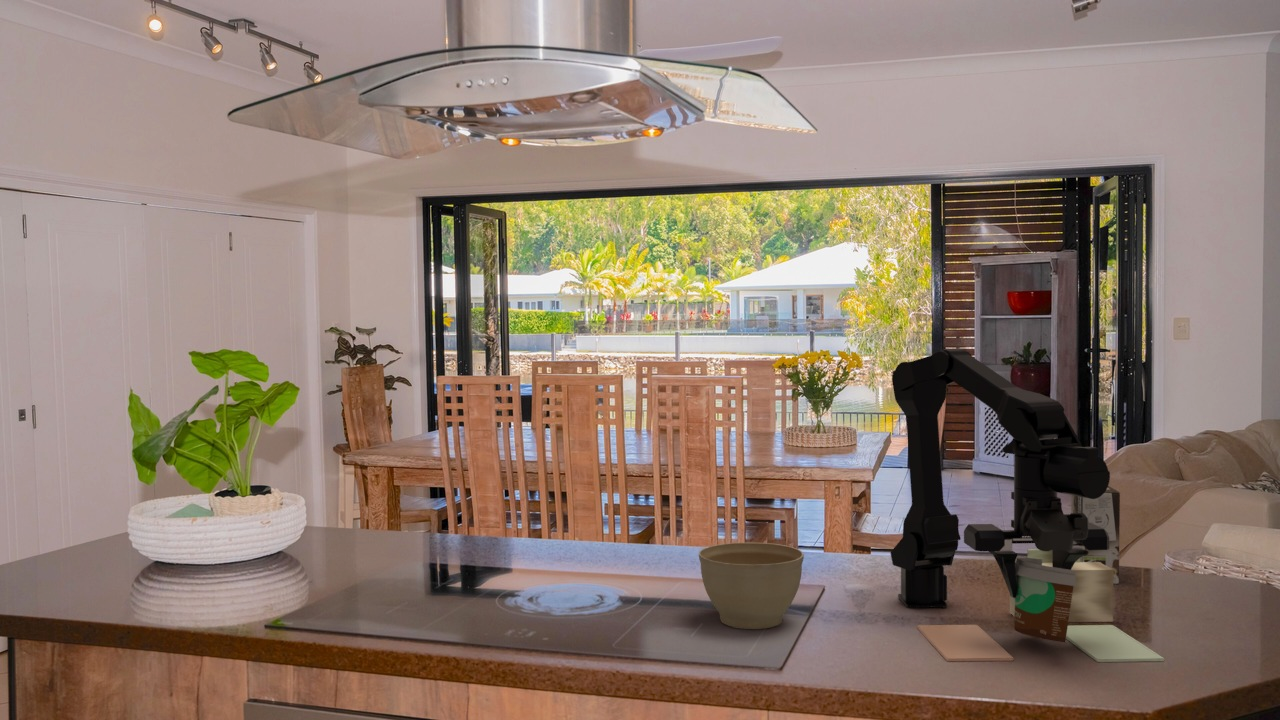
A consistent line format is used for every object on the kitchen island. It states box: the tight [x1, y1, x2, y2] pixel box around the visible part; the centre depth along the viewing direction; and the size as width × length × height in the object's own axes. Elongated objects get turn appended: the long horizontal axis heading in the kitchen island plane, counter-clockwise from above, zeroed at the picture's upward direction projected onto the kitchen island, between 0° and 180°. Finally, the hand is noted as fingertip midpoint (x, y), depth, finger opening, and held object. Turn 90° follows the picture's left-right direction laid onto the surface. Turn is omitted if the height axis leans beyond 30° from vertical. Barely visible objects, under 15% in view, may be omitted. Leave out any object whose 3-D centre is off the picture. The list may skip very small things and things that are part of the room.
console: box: [1009, 548, 1114, 623], centre depth 158 cm, size 14×6×10 cm, turn 90°
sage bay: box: [1066, 624, 1165, 663], centre depth 145 cm, size 9×15×1 cm, turn 0°
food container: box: [1013, 556, 1076, 643], centre depth 144 cm, size 12×6×10 cm, turn 1°
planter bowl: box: [698, 542, 805, 630], centre depth 157 cm, size 16×16×11 cm
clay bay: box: [916, 624, 1014, 662], centre depth 146 cm, size 9×15×1 cm, turn 0°
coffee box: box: [1070, 485, 1121, 585], centre depth 181 cm, size 9×6×16 cm
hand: (1035, 596), depth 144 cm, fingers closed on food container, 6 cm apart
